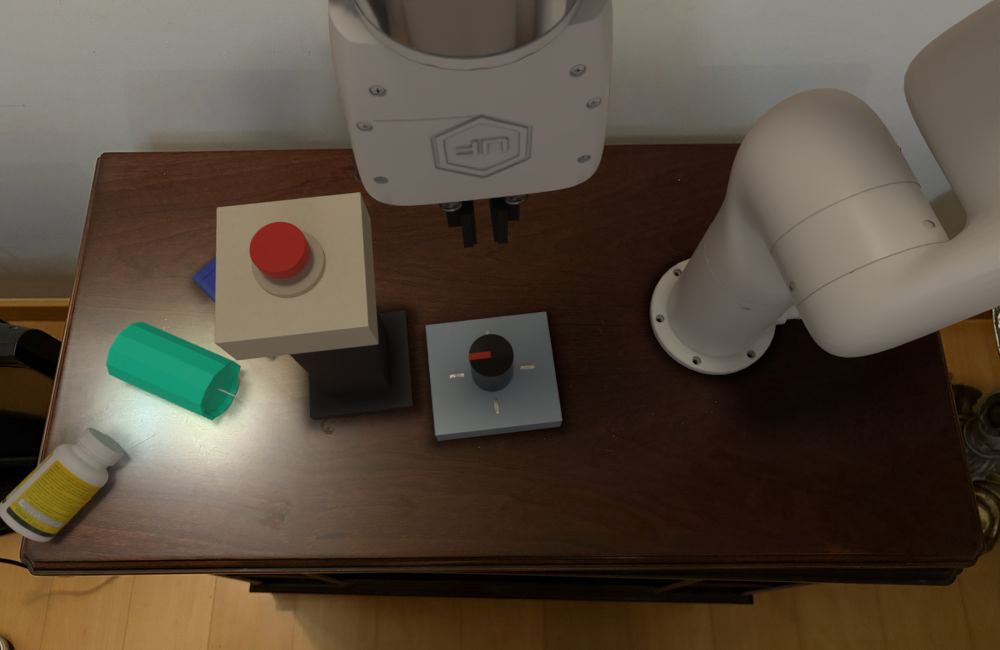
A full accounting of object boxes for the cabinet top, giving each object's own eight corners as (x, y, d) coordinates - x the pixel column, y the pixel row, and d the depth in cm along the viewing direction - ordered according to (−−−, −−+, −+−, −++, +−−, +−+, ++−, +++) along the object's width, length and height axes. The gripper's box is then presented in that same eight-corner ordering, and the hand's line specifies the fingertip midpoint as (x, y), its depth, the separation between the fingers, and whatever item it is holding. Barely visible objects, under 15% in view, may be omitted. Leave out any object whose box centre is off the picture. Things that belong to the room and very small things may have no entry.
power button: (309, 226, 47) (304, 218, 46) (311, 276, 46) (306, 269, 44) (254, 232, 47) (248, 224, 45) (255, 282, 45) (248, 275, 44)
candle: (136, 378, 72) (239, 424, 70) (96, 378, 66) (208, 428, 64) (159, 324, 72) (263, 368, 70) (122, 318, 66) (234, 366, 64)
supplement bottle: (56, 551, 64) (138, 467, 66) (2, 530, 60) (91, 441, 62) (40, 519, 68) (118, 439, 70) (-11, 497, 64) (73, 413, 66)
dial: (510, 349, 69) (510, 330, 63) (515, 389, 67) (516, 373, 62) (469, 354, 68) (466, 335, 63) (473, 394, 67) (470, 378, 62)
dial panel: (544, 321, 73) (546, 310, 70) (560, 426, 69) (562, 420, 66) (428, 334, 72) (425, 324, 69) (437, 441, 69) (434, 435, 66)
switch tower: (407, 313, 73) (358, 187, 49) (414, 408, 70) (366, 323, 46) (310, 324, 73) (213, 202, 49) (313, 420, 69) (210, 340, 45)
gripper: (203, 64, 20) (344, 301, 37) (746, 10, 20) (634, 268, 38) (208, -132, 22) (338, 176, 40) (692, -176, 23) (610, 147, 40)
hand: (482, 220), depth 38 cm, fingers closed
